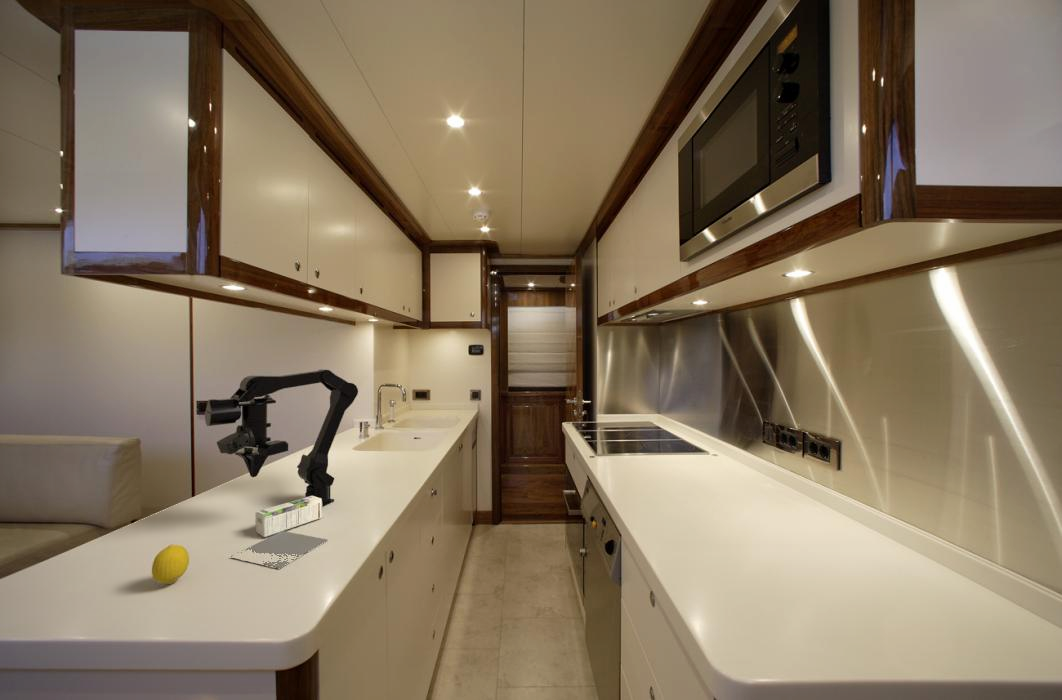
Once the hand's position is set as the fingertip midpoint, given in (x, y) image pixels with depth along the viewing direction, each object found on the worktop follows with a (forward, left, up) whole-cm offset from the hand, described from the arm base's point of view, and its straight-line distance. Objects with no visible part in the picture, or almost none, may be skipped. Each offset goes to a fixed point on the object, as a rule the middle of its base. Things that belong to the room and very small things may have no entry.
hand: (253, 476), depth 104 cm
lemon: (+25, +11, -13) cm, 30 cm away
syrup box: (+5, +9, -10) cm, 14 cm away
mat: (+8, +20, -13) cm, 25 cm away
